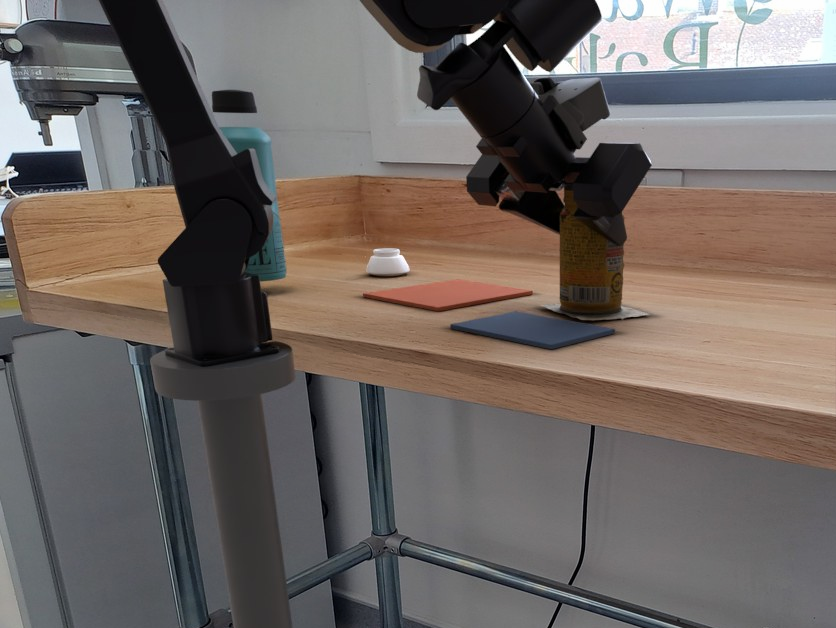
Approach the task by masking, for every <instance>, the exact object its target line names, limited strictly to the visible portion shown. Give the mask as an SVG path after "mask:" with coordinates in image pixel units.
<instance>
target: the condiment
mask: <svg viewBox="0 0 836 628" xmlns="http://www.w3.org/2000/svg"><path fill="white" fill-rule="evenodd" d="M562 202H563V204H564V205H565V207H564V208H563V210H562V211H561V213H560V235H559V301H560V303H551V304H550V303H549V304H542V305H540V306H541V307H543V308H546V309H547V310H551V311H553V312H555V313H559V314H561V315H562V314H565V315H566V316H569V317H570V318H573V319H574V318H575V319H576V318H577V319H578V320H581V321H602V320H606V321H607V320H617V319H621V320H625V319H627V318H631V317H633V318H636V317H642V316H650V313H647V312H646V311H645V312H644V311H641V310H639V309H635V308H634V307H627V306H623V305H622V304H623V302H622V300H623V288H624V268H625V261H624V255H625V248H624V246H625V243H624V244H623V246H618V245H616V244H614V243H612V242H611V241H609V240H607V239H606V238H604V237H603V236H601V235H600V234H598V233H597V232H595V231H594V230H592V229H591V228H589V227H588V226H586V225H585V224H583V223H582V222H580V221H579V220H577V219H576V218H574V217H573V214H574V213H575V211H576V210H577V208H578V205H577V204H576V203H575V201H574V200H573V185H564V187H563V197H562ZM622 214H623V219H624V220H625V215H624V212H622Z"/></svg>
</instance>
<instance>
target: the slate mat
mask: <svg viewBox="0 0 836 628" xmlns="http://www.w3.org/2000/svg"><path fill="white" fill-rule="evenodd" d="M450 329H451V330H456V331H460V332H466V333H470V334H475V335H479V336H485V337H490V338H494V339H500V340H504V341H509V342H514V343H519V344H524V345H528V346H533V347H538V348H543V349H547V350H554V349H559V348H564V347H566V346H570V345H575V344H579V343H582V342H587V341H590V340H594V339H598V338H603V337H607V336H609V335H615V334H616V328H612V327H608V326H607V327H606V326H602V325H597V324H596V325H595V324H590V323H584V322H578V321H572V320H568V319H561V318H556V317H549V316H544V315H539V314H533V313H527V312H522V311H509V312H506V313H500V314H495V315H491V316H485V317H480V318H475V319H471V320H465V321H461V322H460V321H459V322H455V323H451V324H450Z"/></svg>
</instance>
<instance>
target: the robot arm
mask: <svg viewBox="0 0 836 628" xmlns="http://www.w3.org/2000/svg"><path fill="white" fill-rule="evenodd" d="M98 2H99V5H100V7H101V9H102V11H103V13H104V15H105V17H106V19H107V21H108V23H109V26H110V28H111V30H112V32H113V34H114V36H115V39H116V40H117V43H118V45H119V47H120V49H121V51H122V53H123V55H124V57H125V60H126V62H127V63H128V66H129V68H130V70H131V72H132V75H133V77H134V79H135V81H136V83H137V85H138V87H139V90H140V92H141V94H142V96H143V98H144V100H145V103H146V104H147V106H148V109H149V110H150V113H151V115H152V117H153V119H154V121H155V123H156V126H157V128H158V130H159V132H160V134H161V136H162V138H163V140H164V144H165V147H166V152H167V157H168V161H169V168H170V172H171V179H172V183H173V188H174V192H175V196H176V199H177V202H178V206H179V210H180V213H181V216H182V219H183V223H184V226H185V227H184V229H183V230H182V231H181V232H180V234H179V235H177V237H176V238H175V239H174V240H173V241H172V242H171V244H169V245H168V247H167V248H166V249H165V250H164V251H163V252H162V253H161V255H159V256H158V258H157V264H158V266H159V268H160V269H161V271H162V273H163V275H164V276H165V278H163V279H162V285H163V292H164V297H165V304H166V309H167V316H168V320H169V327H170V333H171V339H172V344H173V345H172V347H168V348H165V349H164V350H165V354H166V355H167V356H170V357H173V358H176V359H179V360H182V361H185V362H188V363H191V364H194V365H197V366H200V367H208V366H214V365H219V364H224V363H230V362H235V361H240V360H245V359H250V358H256V357H261V356H266V355H271V354H276V353H279V347H278V346H274V345H270V344H268V343H271V342H272V341H274V340H273V332H272V323H271V314H270V308H269V300H268V294H267V293H266V292H265V291H263V290H262V286H261V282H260V278H259V275H257V274H252V273H247V272H244V270H246V269H247V267H248V263H249V260H250V257H252V256H254V255H256V254H257V253H258V251H259V250H260V249H261V248H262V247H263V246H264V244H265V243H266V241H267V239H268V237H269V234H270V232H271V230H272V227H273V212H272V208H271V205H272V204H273V203H274V201H275V200H276V196H275V195H274V194H273V193H272V191H271V190H270V189H269V188H268V187H267V185H266V183H265V181H264V180H263V177H262V174H261V170H260V166H259V162H258V158H257V154H256V151H255V149H253V148H251V149H245V150H244V151H242V152H240V153H238V154H237V153H236V151H235V150H234V148H233V147H232V145H231V144H230V143H229V141H228V140H227V138H226V137H225V136H224V134H223V133H222V131H221V130H220V128H219V127H220V126H219V124H218V122H217V119H216V118H215V115H214V114H213V113H214V112H213V110H212V108H211V107H210V104H209V102H208V100H207V97H206V95H205V93H204V90H203V89H202V86H201V84H200V81H199V79H198V76H197V74H196V72H195V70H194V67H193V65H192V64H191V61H190V59H189V57H188V54H187V52H186V50H185V48H184V45H183V43H182V41H181V38H180V37H179V35H178V32H177V29H176V27H175V25H174V23H173V20H172V18H171V16H170V14H169V12H168V9H167V7H166V5H165V2H164V0H98ZM359 2H360V3H361V4H362V6H363V7H364V8H365V10H367V12H368V13H369V14H370V15H371V16H372V17H373V18H374V20H375V21H376V22H377V23H378V24H379V25H380V26H381V27H382V28H383V30H384V31H385V32H386V34H388V36H390V38H391V39H393V41H394V42H395V43H396V44H397V45H399V46H401V47H402V48H404V49H405V50H407V51H409V52H412V53H415V54H424V53H432V52H434V51H437V50H438V49H441V48H442V47H444V46H445V45H446V44H448V43H449V42H450V41H452V39H453V38H454V37H457V36H464V35H473V34H475V33H476V32H478V31H480V30H481V29H483V28H484V27H486V26H487V25H488V24H490V23H491V22H492V21H493V22H494V23H492V24H491V25H490V27H489V28H487V29H486V31H484V33H483V32H482V34H481V35H480V36H478V37H477V38H476V39H475V40H474V41H472V42H471V43H469V44H466V43H464V42H459V43H458V44H457V45H456V46H455V47H454V48H453V49H452V50H451V51H450V52H449V53H448V54H447V55H446V56H445V57H444V58H443V59H442V60H441V61H440V62H439V63H438V64H436V65H432V66H430V65H429V66H427V65H425V64H421V65H420V66H419V67H418V72H419V81H418V87H417V93H416V97H417V99H418V100H420V101H421V102H422V103H424V104H425V105H427V106H428V107H429V108H431V109H432V110H434V111H438V110H441V108H442V107H443V106H444V105H445V104H446V103H447V102H448V101H449V100H451V101H452V102H453V103H454V104H455V106H456V107H457V108H458V110H459V111H460V113H462V115H463V116H464V117H465V119H466V120H467V122H468V123H469V124H470V125H471V127H472V128H473V129H474V130H475V132H476V133H477V134H478V135H479V137H480V140H479V141H478V143H477V144H476V145H475V147H476V149H477V150H478V151H479V152H480V156H479V158H478V159H477V161H476V162H475V164H474V165H473V166H472V168H471V169H470V171H469V172H468V173H467V175H466V178H465V179H466V192H467V194H469V195H470V197H471V198H472V199H473V201H475V202H476V204H477V205H478V206H485V207H486V206H487V207H497V205H498V209H499V210H500V211H501V212H504V213H505V212H506V213H508V214H511V215H513V216H515V217H517V218H520V219H522V220H525V221H528V222H529V223H532V224H534V225H537V226H538V227H541V228H543V229H546V230H547V231H549V232H552V233H554V234H556V235H558V236H560V213H561V211H562V210H563V208H564V207H565V203H564V202H563V199H562V198H561V197H560V195H559V194H558V192H560V191H562V190H563V189H564V185H573V200H574V201H575V203H576V204H577V205H578V208H577V210H576V211H575V213H574V214H573V217H574V218H576V219H577V220H579V221H580V222H582V223H583V224H585V225H586V226H588V227H589V228H591V229H592V230H594V231H595V232H597V233H598V234H600V235H601V236H603V237H604V238H606V239H607V240H609V241H611V242H612V243H614V244H616V245H618V246H623V244H624V245H625V243H626V241H627V239H628V233H627V228H626V225H625V224H626V223H625V218H624V219H623V215H624V213H623V211H624V210H625V208H626V207H627V205H628V203H629V202H630V200H631V199H632V197H633V196H634V194H635V192H636V191H637V189H638V188H639V186H640V185H641V184H642V181H643V180H644V178H645V177H646V175H647V174H648V172H649V171H650V169H651V168H652V165H653V164H652V161H651V159H650V157H649V156H648V154H647V152H646V150H645V149H644V148H643V146H642V144H641V143H640V142H599V143H598V145H597V146H596V148H595V149H594V151H592V154H591V155H590V156H589V157H579V156H576V154H575V152H576V151H577V150H581V149H582V148H583V147H584V145H585V143H586V142H587V141H588V138H587V136H586V134H585V133H584V132H585V131H587V130H588V129H589V128H591V127H593V126H594V125H595V124H597V123H598V122H600V121H601V120H606V119H608V118H609V117H610V116H611V110H610V107H609V103H608V100H607V96H606V93H605V89H604V86H603V83H602V80H601V78H600V77H586V78H571V79H568V80H564V81H563V80H562V81H560V80H559V81H557V82H555V80H554V79H553V78H552V77H550V76H539V77H535V78H533V79H532V80H530V81H528V80H527V78H526V76H525V75H524V73H523V72H522V71H521V69H520V68H519V66H518V65H517V63H516V62H515V61H514V59H513V58H512V56H511V55H513V56H514V58H515V59H516V60H517V61H518V62H519V63H520V64H521V65H522V66H523V67H524V68H525V69H526V70H528V71H530V72H533V71H534V70H535V69H536V68H537V67H539V68H541V69H542V70H544V71H545V72H548V73H551V72H552V71H554V70H555V69H556V67H557V66H559V65H560V64H561V63H562V62H563V61H564V60H565V58H567V57H568V56H569V55H570V54H571V53H572V52H573V51H574V50H575V49H576V48H577V47H578V46H579V45H580V44H581V43H582V42H583V41H584V40H585V39H586V38H587V37H588V36H590V34H591V33H592V32H593V31H595V29H596V28H597V27H599V25H600V24H602V21H603V16H602V11H601V9H600V7H599V5H598V2H597V1H596V0H359ZM505 46H506V47H507V49H508V50H507V49H506V47H505ZM508 51H509V52H510V53H511V55H510V53H509V52H508ZM500 199H501V201H500ZM622 213H623V214H622Z"/></svg>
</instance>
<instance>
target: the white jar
mask: <svg viewBox="0 0 836 628" xmlns="http://www.w3.org/2000/svg"><path fill="white" fill-rule="evenodd" d="M400 253H401V251H400V249H399V248H393V247H392V248H391V247H389V248H388V247H383V248H375V249H373V255H371V256H370V257H369V261H368V262H367V266H366V268H365V271H366V273H368V274H369V275H372V276H375V277H398V276H403V275H406V274H407V273H408V272H410V266H409V264H408V263H407V261H406V258H405V257H404V256H403V255H402V254H400Z"/></svg>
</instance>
